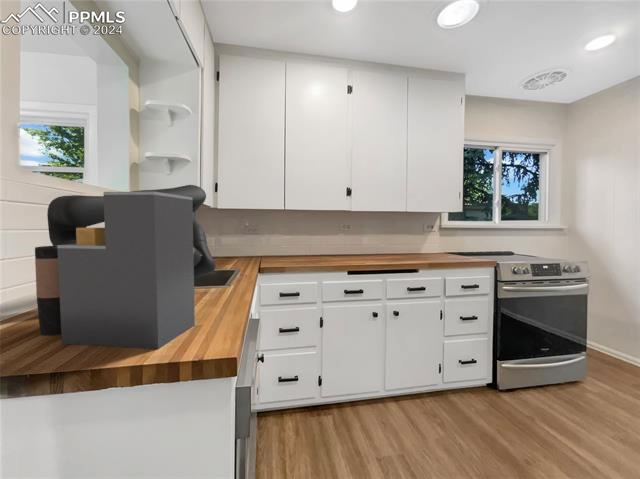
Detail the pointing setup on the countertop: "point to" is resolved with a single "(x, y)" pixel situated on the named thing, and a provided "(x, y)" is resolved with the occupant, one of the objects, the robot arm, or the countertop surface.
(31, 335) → the countertop surface
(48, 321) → the travel mug
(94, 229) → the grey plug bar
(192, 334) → the countertop surface
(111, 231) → the grey stepped block
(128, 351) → the countertop surface
